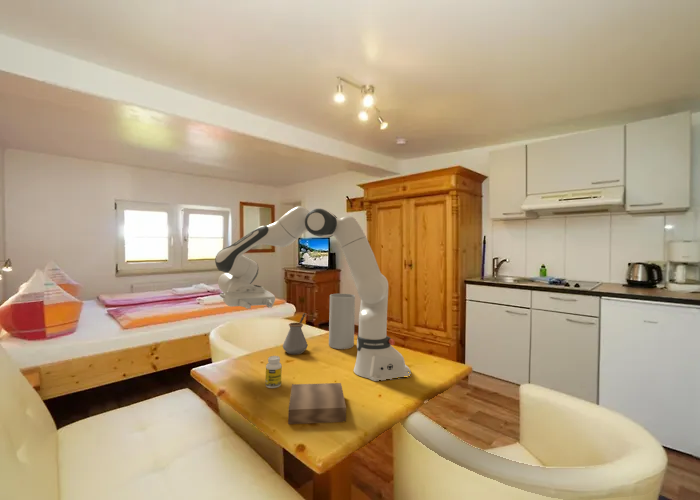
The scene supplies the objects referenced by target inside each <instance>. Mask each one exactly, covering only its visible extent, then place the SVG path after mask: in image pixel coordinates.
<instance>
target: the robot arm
mask: <svg viewBox="0 0 700 500" xmlns="http://www.w3.org/2000/svg"><path fill="white" fill-rule="evenodd" d="M306 232H308V233H310V234H311V235H313V236H315V237H319V238H324V239H325V238H332V237H334V238H335V239H336V240H337V243H338V245H339V247H340V250H341V252H342V254H343V256H344V258H345V261H346V263H347V266H348V268H349V271H350V274H351V277H352V280H353V283H354V287H355V288H356V292H357V294H358V297H359V298H360V305H359V312H358V313H359V314H358V334H357V338H356V349H357V353H356V360H355V363H354V368H353V372H354V373H355V375H357V376H360V377H362V378H366V379H369V380H371V381H373V382H380V381H379V380H381V381H387V380H386V379H390V380H393V379H392V378H397V377H404V376H409V375H410V374H411V375H412V373H411V372H412V371H411V369H410V367H409V366H408V365H406V361H405V357H404V356H403V355H402V353H401V352H399V351H398V350H397V349H396V348H395V347H394V345H395V340H394V339H393V338H391V337H390V336H388V335H387V325H388V322H387V321H388V304H389V303H388V302H389V300H388V299H389V281H388V279H387V277H386V276H385V275H384V274H382V272H381V270H380V267H379V265H378V262H377V259H376V256H375V253H374V251H373V250H372V247H371V245H370V242H369V240H368V237H366V236H367V235H366V234H365V232H364V230H363V229H362V227H361V225H360V223H359V222H358V221H357V219H356V218H355V217H354V216H350V215H349V216H348V215H346V216H342V217H340V218H338V217H337V216H336V215H335V214H333V213H332V212H330V211H329V210H327V209H323V208H314V209H312V210H310V211H309V209H308V208H306V207H304V206H301V205H298V206H295V207H293V208H291V209H290V210H288V211H287V212H286V213H284V214H283V215H282V216H281V217H279V218H278V219H277V220H276V221H274V222H273V223H270V224H268V225H261V226H258V227H256V228H255V229H252V230H251V231H250V232H249V233H247V234H246V235H244V236H242V237H241V238H239V239H238V240H237V241H236V242H234V243H232V244H231V245H228V246H226V247H224V248H222V249H221V250H219V251H218V252H217V254H216V255H215V260H214V261H215V266H216V268H217V270H218V271H220V272H223V273H221V274H220V276H219V277H218V280H217V286H218V287H219V289H220V291H221V292H222V293H219V297H221V298H222V300H223V302H224V303H225V305H227V306H229V307H242V308H245V309H251V307H253V306H254V307H256V306H266V307H267V308H270V309H271V308H272V307H273V306H274V304H275V301H276V295H275V294H273V293H272V292H271V291H269V290H267V289H265V286H262V285H257V284H253V283H254V281H255V280H256V278H257V276H258V274H259V264H258V262H257V261H255V260H253V259H251V258H249V256H246V255H244V254H245V253H247V252H248V251H250V250H251V249H252V248H254V247H255V246H259V245H265V246H267V245H269V246H273V247H277V248H286V247H288V246H289V247H290V245H292V244H293V243H294V242H295V241H296V240H298V239H299V238H300V237H301V236H302V235H303V234H304V233H306ZM408 372H409V373H408Z"/></svg>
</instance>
